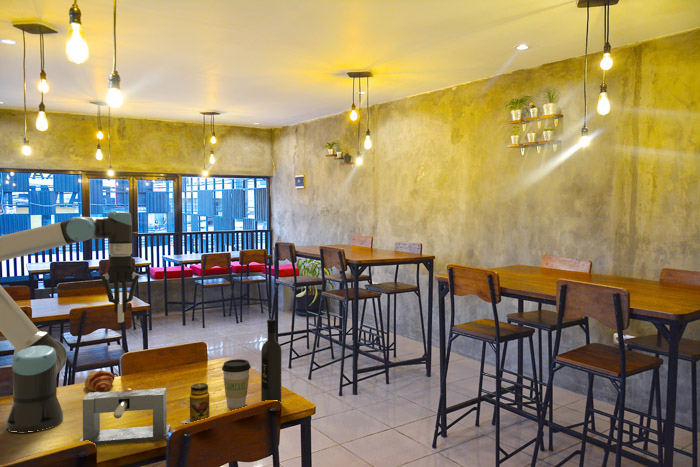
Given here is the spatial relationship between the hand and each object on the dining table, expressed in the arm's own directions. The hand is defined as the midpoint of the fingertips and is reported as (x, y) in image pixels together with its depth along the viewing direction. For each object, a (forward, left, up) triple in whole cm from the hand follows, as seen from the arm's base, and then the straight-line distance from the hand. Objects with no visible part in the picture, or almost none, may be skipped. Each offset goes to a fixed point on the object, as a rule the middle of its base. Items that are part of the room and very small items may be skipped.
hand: (121, 321), depth 180 cm
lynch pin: (+8, -35, -20) cm, 41 cm away
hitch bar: (+8, -32, -28) cm, 44 cm away
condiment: (+28, -24, -29) cm, 47 cm away
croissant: (-12, +18, -29) cm, 36 cm away
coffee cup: (+40, -12, -29) cm, 51 cm away
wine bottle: (+52, -14, -29) cm, 61 cm away
